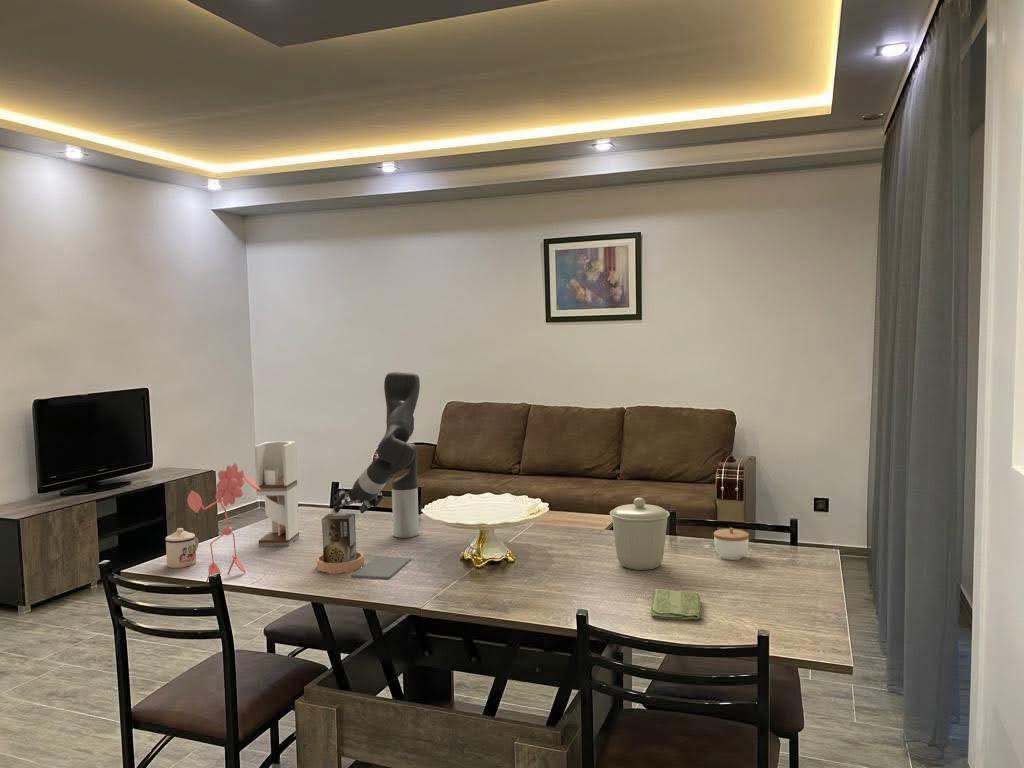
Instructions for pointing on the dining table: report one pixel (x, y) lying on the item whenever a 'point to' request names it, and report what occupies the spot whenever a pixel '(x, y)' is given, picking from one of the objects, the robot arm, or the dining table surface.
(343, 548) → the printed cardboard box
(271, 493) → the display case
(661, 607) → the washcloth
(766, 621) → the dining table surface
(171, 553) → the teacup with lid
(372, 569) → the rubber mat
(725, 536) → the lidded jar
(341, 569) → the terracotta ring
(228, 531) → the pink flower stick figure
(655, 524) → the canister
